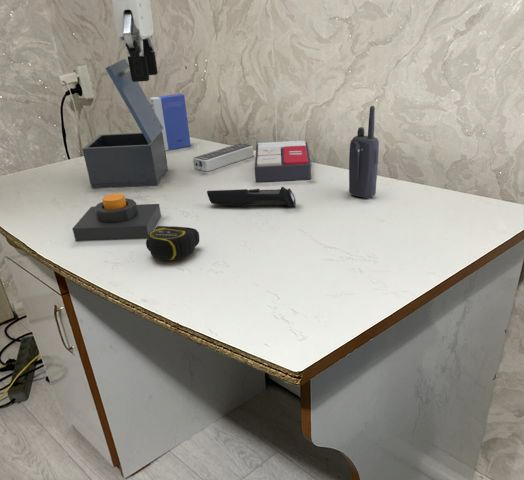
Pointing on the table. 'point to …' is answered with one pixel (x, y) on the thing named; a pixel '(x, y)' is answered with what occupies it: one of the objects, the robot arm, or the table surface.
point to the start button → (114, 201)
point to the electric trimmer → (252, 197)
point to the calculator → (282, 161)
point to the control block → (117, 222)
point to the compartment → (125, 160)
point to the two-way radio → (364, 161)
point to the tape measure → (172, 242)
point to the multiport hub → (223, 157)
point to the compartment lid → (135, 100)
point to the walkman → (172, 120)
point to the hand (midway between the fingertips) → (145, 77)
